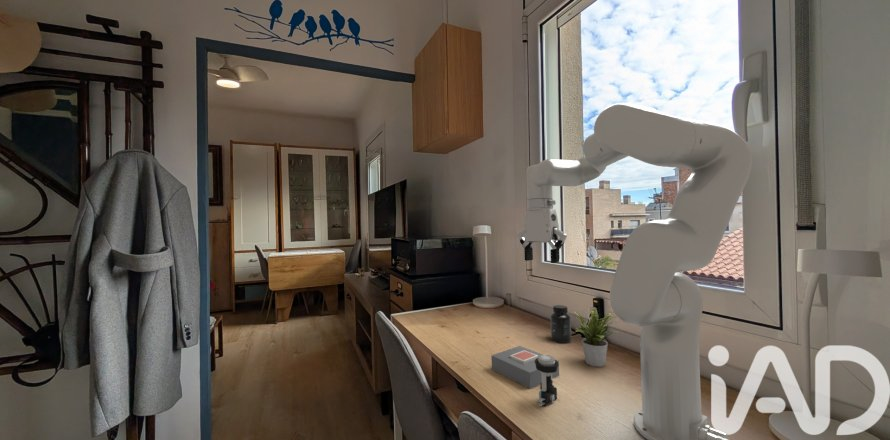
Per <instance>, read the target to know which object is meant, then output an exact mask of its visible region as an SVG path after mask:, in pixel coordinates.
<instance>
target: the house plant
mask: <svg viewBox="0 0 890 440" xmlns="http://www.w3.org/2000/svg"><path fill="white" fill-rule="evenodd" d="M588 310H589V312H590V320H589V321H588V322H587V323H586V320H585V319H584V318H583V317H582V315H581V314H579V313H578V312H576V311H575V310H572V312H574V313H575V314H576V315H577V316H578V317H577V316H575V318H576V319H577V320H579V322H580V328H579V327H575V331H574V332H580V333H581V334H582V335H583V336H584V338H583V339H581V345H582V348H583V354H584V360H585V363H586V364H587V365H588V366H589V365H590V366H591V367H596V368H597V367H598V368H600V367H604V366H605V364H606V359H607V352H608V345H609V344H608V343H609V342H607V341H606V340H605V339H606V338H607V337H609V336H611V335H612V334H615V335H617V333H619V331H618V330H617V331H612V330H606V329H607V327H608V326H609V325H611V324H614V323H615V324H616V323H617V322H616V321H612V322H609V321H611V320H612V319H615V318H617V316H612V314H614V311H613V312H610V313H608V314H605V316H604V317H603V318H599V313H598V309H597V308H596V307H595V308H594V309H592V310H591V309H590V308H588ZM607 322H609V323H607ZM607 333H608V334H607ZM605 334H607V335H605Z"/></svg>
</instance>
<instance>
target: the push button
mask: <svg viewBox="0 0 890 440" xmlns="http://www.w3.org/2000/svg"><path fill="white" fill-rule="evenodd" d="M554 359H555V357H554V356H553V355H549V354H543V355H540V356H539V357H538V358H537V359H535V364H536V369H537V370H539V371H540V372H541V380H542V383H541V384H540V385H539V387H540V388H539V389H540V390H539V391H538V400H537V402H539V403H538V404H537V405H538V406H539V407H542V406H548V405H549V404H550V403H552V404H554V403H555V400H557V399H558V391H557V387H555V385H554V384H553V378H552V373H554V372H556V371H557V367H558V362H557V361H556V360H557V359H556V360H554Z"/></svg>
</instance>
